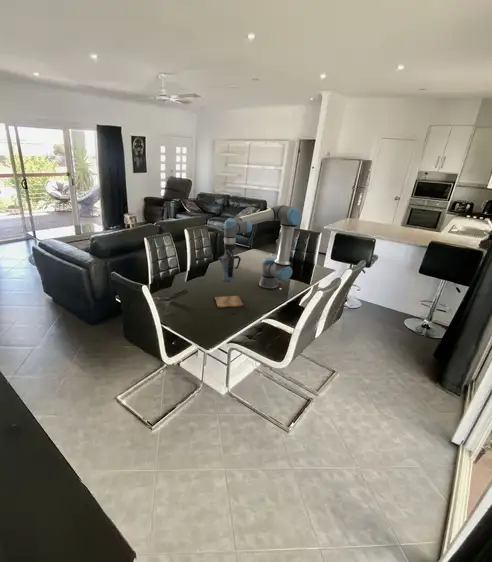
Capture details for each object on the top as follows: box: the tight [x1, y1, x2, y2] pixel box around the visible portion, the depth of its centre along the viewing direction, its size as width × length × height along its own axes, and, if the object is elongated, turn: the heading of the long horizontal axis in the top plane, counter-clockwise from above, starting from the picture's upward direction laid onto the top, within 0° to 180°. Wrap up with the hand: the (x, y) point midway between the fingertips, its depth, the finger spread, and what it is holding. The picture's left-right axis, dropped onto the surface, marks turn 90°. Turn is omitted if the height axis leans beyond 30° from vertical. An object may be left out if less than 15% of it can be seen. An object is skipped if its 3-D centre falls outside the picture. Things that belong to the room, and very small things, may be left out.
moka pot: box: [218, 252, 242, 283], centre depth 222 cm, size 10×15×20 cm, turn 95°
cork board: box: [214, 295, 244, 309], centre depth 232 cm, size 18×16×1 cm
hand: (229, 274), depth 224 cm, fingers closed on moka pot, 8 cm apart
